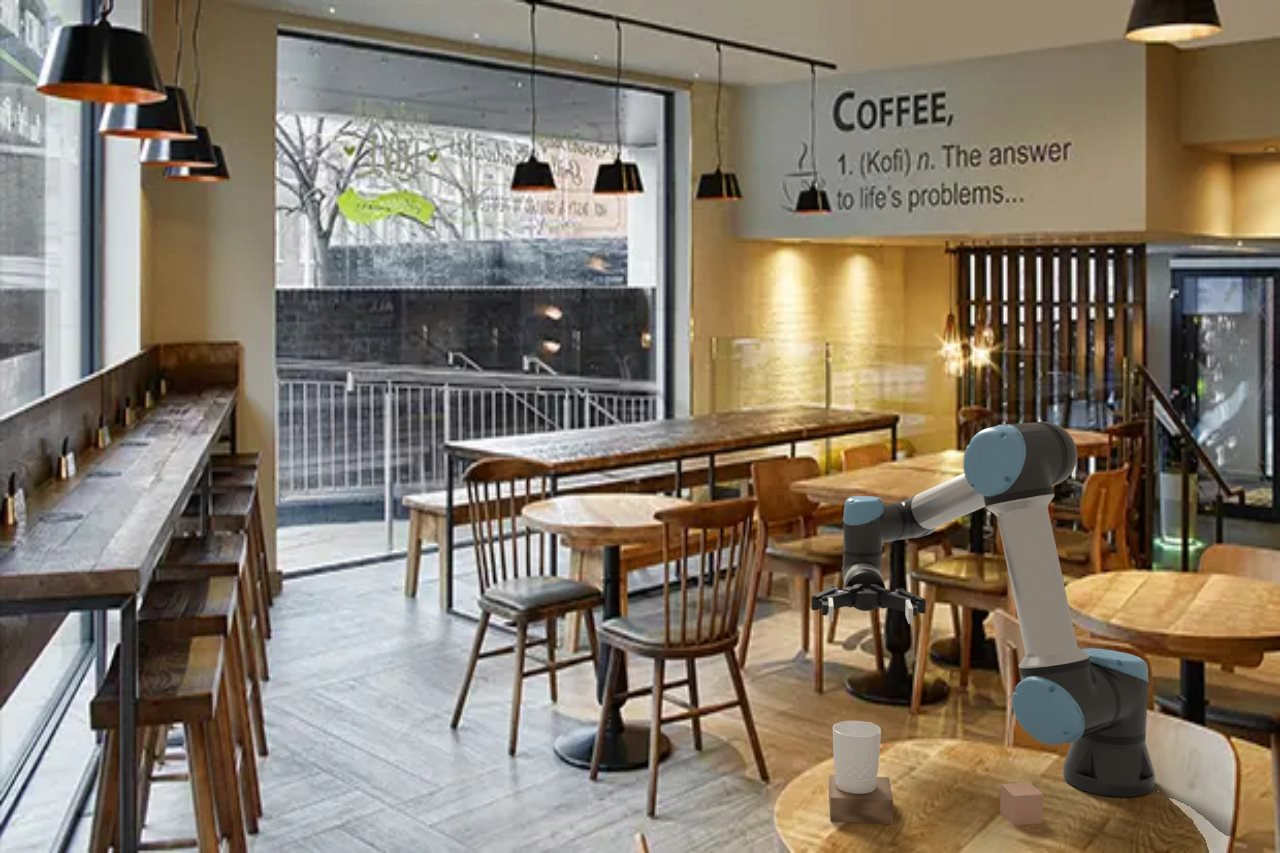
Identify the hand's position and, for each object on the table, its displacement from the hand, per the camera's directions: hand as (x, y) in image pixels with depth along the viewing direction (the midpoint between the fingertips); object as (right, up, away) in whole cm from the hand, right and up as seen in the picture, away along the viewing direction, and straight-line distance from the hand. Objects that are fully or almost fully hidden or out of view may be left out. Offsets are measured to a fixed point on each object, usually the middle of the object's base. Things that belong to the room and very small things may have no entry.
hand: (870, 615), depth 221 cm
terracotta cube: (+22, -31, -12) cm, 41 cm away
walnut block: (-3, -31, -9) cm, 33 cm away
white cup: (-4, -27, -9) cm, 29 cm away
